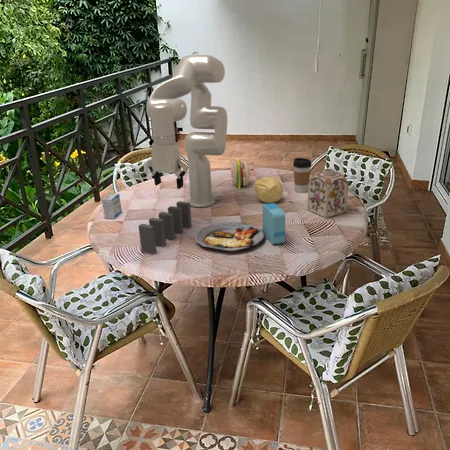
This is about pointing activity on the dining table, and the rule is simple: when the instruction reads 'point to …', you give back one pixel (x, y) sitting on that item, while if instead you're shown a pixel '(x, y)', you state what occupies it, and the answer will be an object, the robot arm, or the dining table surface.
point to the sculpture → (268, 189)
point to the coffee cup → (301, 174)
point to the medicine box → (112, 206)
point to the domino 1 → (147, 238)
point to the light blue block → (274, 223)
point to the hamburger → (241, 173)
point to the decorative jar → (327, 193)
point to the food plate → (230, 236)
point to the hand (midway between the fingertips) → (169, 185)
